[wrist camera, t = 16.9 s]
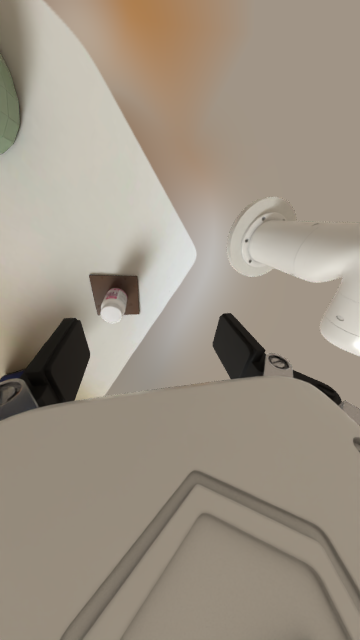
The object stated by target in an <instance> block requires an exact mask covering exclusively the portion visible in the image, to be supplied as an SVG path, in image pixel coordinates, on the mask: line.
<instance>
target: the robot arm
mask: <svg viewBox="0 0 360 640" xmlns="http://www.w3.org/2000/svg"><path fill="white" fill-rule="evenodd" d="M241 254H242V257H243V260H244V261H245V262H246V263H247V264H248V265H250V266H253V267H263V266H266V265H267V266H270V267H272V268H275V269H278V270H280V271H283V272H285V273H288V274H290V275H293V276H295V277H298V278H301V279H303V280H306V281H309V282H326V281H330V280H335V279H338V278H341V277H343V278H342V281H341V283H340V285H339V287H338V290H337V292H336V294H335V295H334V297H333V299H332V301H331V303H330V304H329V306H328V308H327V310H326V312H325V314H324V315H323V317H322V320H321V322H320V331H321V334H322V335H323V337H324V338H325V339H326V340H328V341H329V342H331V343H332V344H334V345H335V346H337V347H339V348H341V349H343V350H346V351H348V352H350V353H353V354H355V355H358V356H360V223H359V222H356V223H355V222H352V223H350V222H349V223H348V222H347V223H346V222H314V221H287V220H286V218H285V217H284V216H283V215H282V214H280V213H277V212H269V213H265V214H262V215H260V216H259V217H257V218H256V219H255V220H254V221H253V222H252V223H251V224H250V225H249V226H248V228H247V230H246V231H245V233H244V235H243V239H242V242H241ZM213 347H214V350H215V351H216V353H217V355H218V357H219V359H220V360H221V362H222V364H223V366H224V367H225V369H226V371H227V373H228V375H229V376H230V378H231V379H230V380H222V381H214V382H206V383H199V384H191V385H184V386H176V387H168V388H161V389H154V390H146V391H139V392H132V393H124V394H117V395H110V396H103V397H96V398H89V399H83V400H76V401H74V400H75V398H76V395H77V392H78V389H79V386H80V384H81V381H82V378H83V375H84V372H85V369H86V367H87V364H88V361H89V358H90V351H89V348H88V344H87V341H86V338H85V334H84V331H83V328H82V324H81V321H80V320H77V319H76V318H65V319H63V321H62V322H61V323H60V325H59V326H58V327H57V329H56V330H55V332H54V333H53V334H52V336H51V337H50V338H49V340H48V341H47V342H46V343H45V344H44V345H43V347H42V348H41V349H40V351H39V352H38V353H37V355H36V356H35V358H34V359H33V360H32V362H31V363H30V364H29V366H28V367H27V368H26V370H25V371H24V372H23V374H22V375H21V376H20V378H16V379H9V380H5V381H2V382H0V640H360V409H359V408H357V407H355V406H354V405H352V404H350V403H349V402H347V401H346V400H345V401H343V402H342V401H341V398H340V397H339V395H338V394H337V393H336V391H335V390H333V389H332V388H331V387H329V386H328V385H326V384H324V383H322V382H320V381H317V380H315V379H313V378H310V377H308V376H306V375H303V374H301V373H299V372H296V371H294V370H293V369H292V365H291V363H290V362H289V361H288V360H287V359H286V358H284V357H282V356H281V355H278V354H275V353H269V354H267V355H266V354H265V353H264V352H265V349H264V348H263V347H262V346H261V345H260V344H259V343H258V342H257V341H256V340H255V338H254V337H253V336H252V335H251V334H250V333H249V332H248V331H247V330H246V329H245V328H244V327H243V326H242V325H241V323H240V322H239V321H238V320H237V319H236V318H235V317H234V316H233V315H232V314H231V313H227V314H223V315H222V316H220V319H219V322H218V326H217V330H216V333H215V337H214V341H213Z"/></svg>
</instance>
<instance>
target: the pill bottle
mask: <svg viewBox="0 0 360 640" xmlns="http://www.w3.org/2000/svg"><path fill="white" fill-rule="evenodd" d="M126 304H127V295H126V293H125V292H124V291H123V290H121V289H119V288H113V289H110V290H109V291H108V292H107V294H106V296H105V298H104V300H103V302H102V305H101V312H100V315H101V318H102V319H103V320H104V321H106V322H108V323H117V322H119V321H120V320H121V319H122V316H123V315H124V313H125V309H126Z"/></svg>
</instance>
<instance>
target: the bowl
mask: <svg viewBox="0 0 360 640" xmlns="http://www.w3.org/2000/svg"><path fill="white" fill-rule="evenodd" d="M19 125H20V121H19V102H18V98H17V95H16V91H15V88H14V84H13V81H12V77H11V74H10V71H9V69H8V67H7V65H6V63H5V61H4V59H3V57H2V55H1V53H0V154H2V153H4V152H5V151H6V150H7V149H8V148H9V147H10V146H12V145H13V144H14V142H15V138H16V135H17V132H18V129H19Z"/></svg>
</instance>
